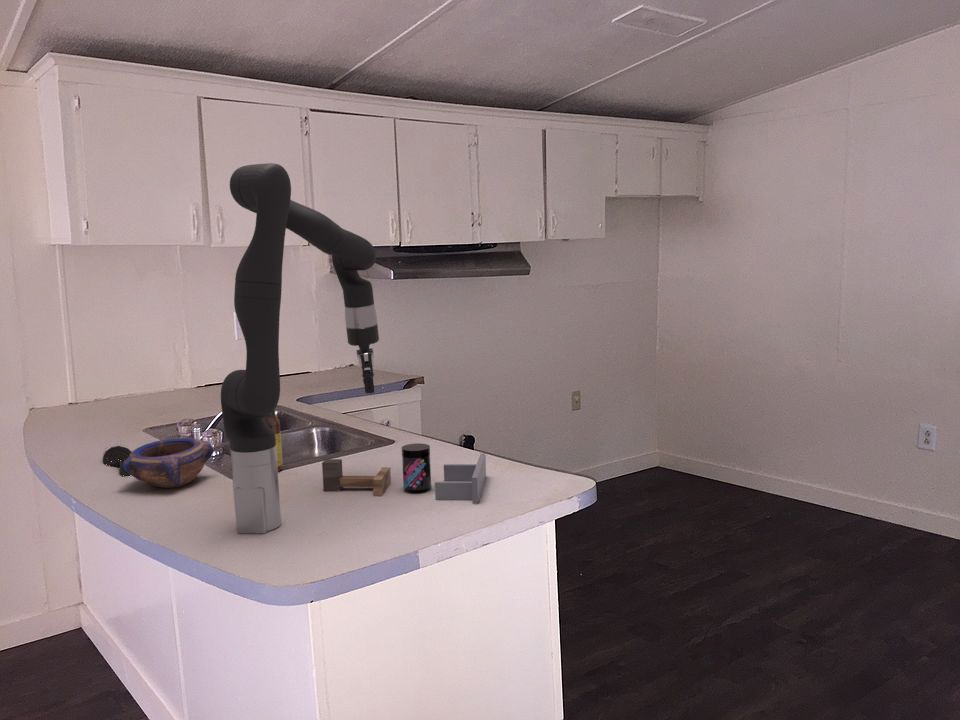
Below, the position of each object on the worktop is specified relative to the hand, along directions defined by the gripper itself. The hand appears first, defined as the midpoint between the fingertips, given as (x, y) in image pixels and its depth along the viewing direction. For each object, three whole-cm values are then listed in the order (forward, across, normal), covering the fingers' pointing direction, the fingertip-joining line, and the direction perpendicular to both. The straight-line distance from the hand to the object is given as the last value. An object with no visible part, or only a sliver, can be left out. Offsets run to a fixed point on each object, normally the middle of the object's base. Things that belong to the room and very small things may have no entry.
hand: (368, 388), depth 198 cm
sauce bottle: (+23, -12, -27) cm, 38 cm away
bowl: (+21, -8, -52) cm, 56 cm away
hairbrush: (+22, -29, -68) cm, 77 cm away
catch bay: (+23, +16, +18) cm, 34 cm away
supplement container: (+23, +13, +8) cm, 28 cm away
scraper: (+22, +9, -6) cm, 25 cm away
